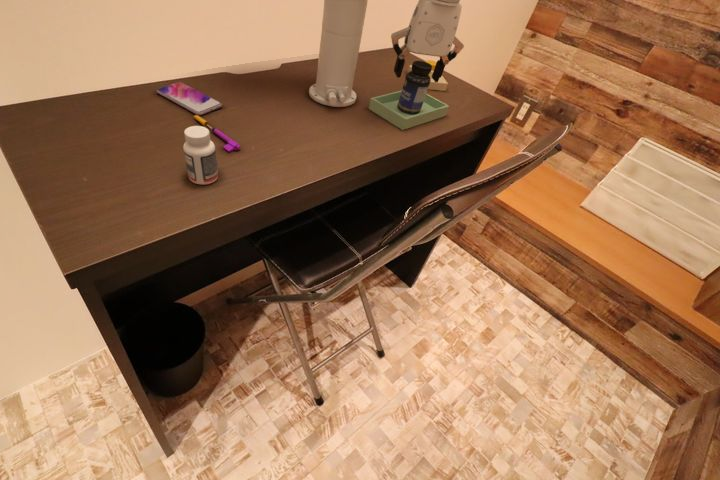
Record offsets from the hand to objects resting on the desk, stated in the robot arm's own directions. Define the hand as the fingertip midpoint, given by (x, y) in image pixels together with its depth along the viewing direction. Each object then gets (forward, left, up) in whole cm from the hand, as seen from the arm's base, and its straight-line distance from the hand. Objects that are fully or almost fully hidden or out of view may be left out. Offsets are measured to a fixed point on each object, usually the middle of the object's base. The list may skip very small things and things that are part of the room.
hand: (416, 77), depth 89 cm
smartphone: (-4, +54, -9) cm, 55 cm away
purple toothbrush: (-19, +47, -9) cm, 51 cm away
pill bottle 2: (0, -1, -8) cm, 8 cm away
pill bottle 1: (-34, +47, -9) cm, 58 cm away
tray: (0, 0, -9) cm, 9 cm away
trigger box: (+22, -12, -9) cm, 27 cm away
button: (+22, -12, -5) cm, 26 cm away
